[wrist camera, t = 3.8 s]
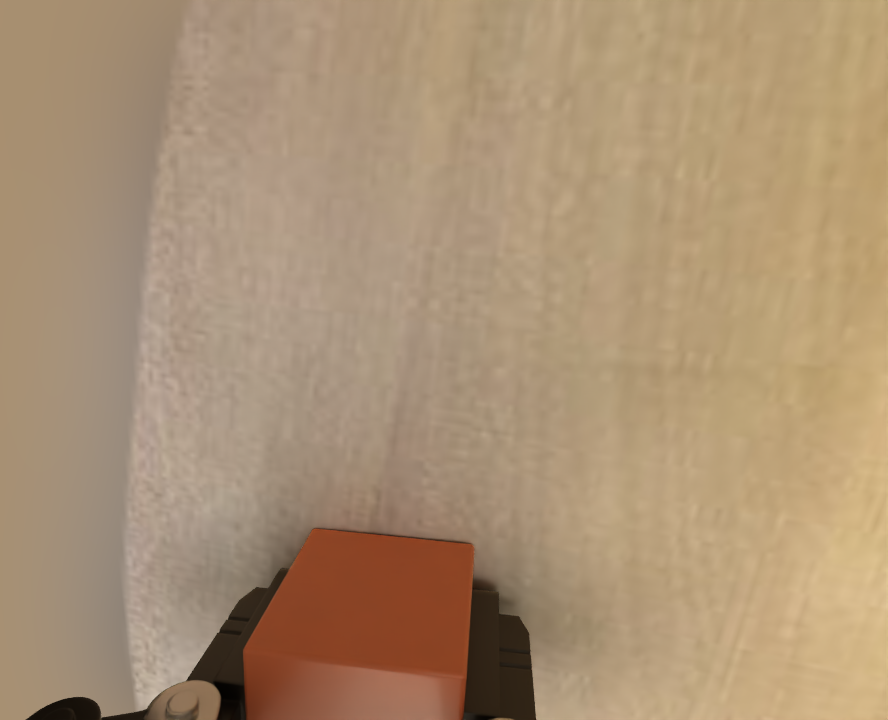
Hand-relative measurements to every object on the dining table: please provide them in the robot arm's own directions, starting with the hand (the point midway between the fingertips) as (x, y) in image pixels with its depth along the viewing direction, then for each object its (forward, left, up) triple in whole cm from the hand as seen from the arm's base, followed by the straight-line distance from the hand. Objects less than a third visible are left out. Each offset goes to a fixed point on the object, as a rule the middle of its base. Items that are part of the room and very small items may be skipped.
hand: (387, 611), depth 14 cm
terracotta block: (0, 0, 0) cm, 0 cm away
